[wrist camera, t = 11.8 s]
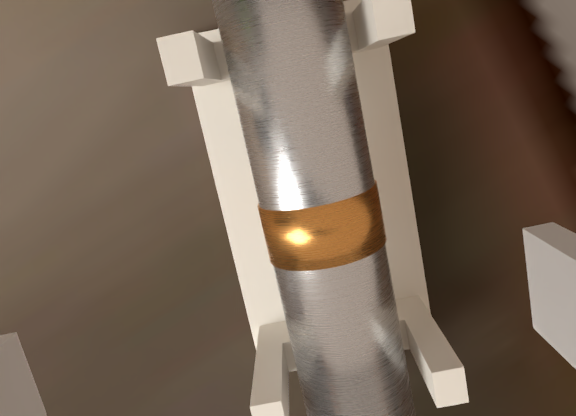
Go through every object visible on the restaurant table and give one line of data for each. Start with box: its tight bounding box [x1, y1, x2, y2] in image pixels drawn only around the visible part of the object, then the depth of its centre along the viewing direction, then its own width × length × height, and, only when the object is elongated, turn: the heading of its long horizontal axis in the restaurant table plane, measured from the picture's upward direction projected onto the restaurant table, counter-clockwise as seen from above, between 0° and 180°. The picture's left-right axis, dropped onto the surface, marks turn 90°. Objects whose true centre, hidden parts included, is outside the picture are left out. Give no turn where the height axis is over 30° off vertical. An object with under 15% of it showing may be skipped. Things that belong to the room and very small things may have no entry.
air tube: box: [212, 0, 416, 416], centre depth 27 cm, size 26×6×6 cm, turn 12°
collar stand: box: [156, 0, 469, 416], centre depth 29 cm, size 22×12×10 cm, turn 12°
